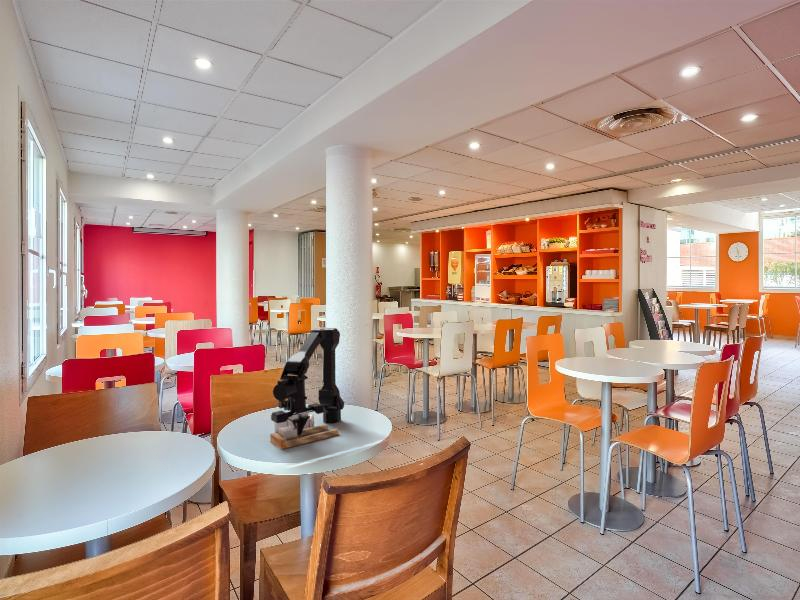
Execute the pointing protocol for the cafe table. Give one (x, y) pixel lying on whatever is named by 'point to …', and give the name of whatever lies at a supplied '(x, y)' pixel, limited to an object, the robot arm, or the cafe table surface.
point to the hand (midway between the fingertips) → (299, 435)
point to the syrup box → (289, 423)
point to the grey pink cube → (288, 432)
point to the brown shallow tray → (304, 437)
